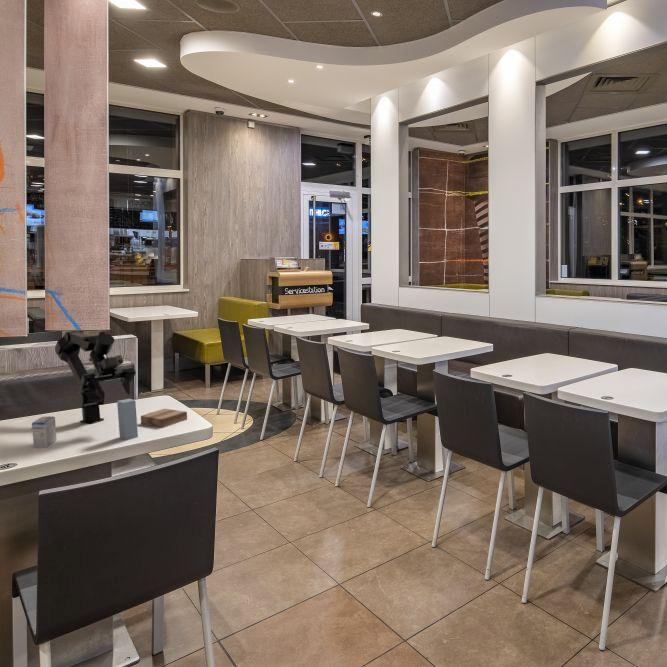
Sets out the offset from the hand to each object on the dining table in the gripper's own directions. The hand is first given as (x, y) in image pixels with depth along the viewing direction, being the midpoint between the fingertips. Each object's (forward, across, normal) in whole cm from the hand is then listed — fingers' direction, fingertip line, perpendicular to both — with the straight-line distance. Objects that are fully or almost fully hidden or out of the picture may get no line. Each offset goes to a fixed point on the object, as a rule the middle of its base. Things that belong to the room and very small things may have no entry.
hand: (116, 396), depth 197 cm
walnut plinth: (+9, +18, +10) cm, 23 cm away
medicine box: (+5, -23, +14) cm, 27 cm away
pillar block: (+15, 0, +4) cm, 16 cm away
